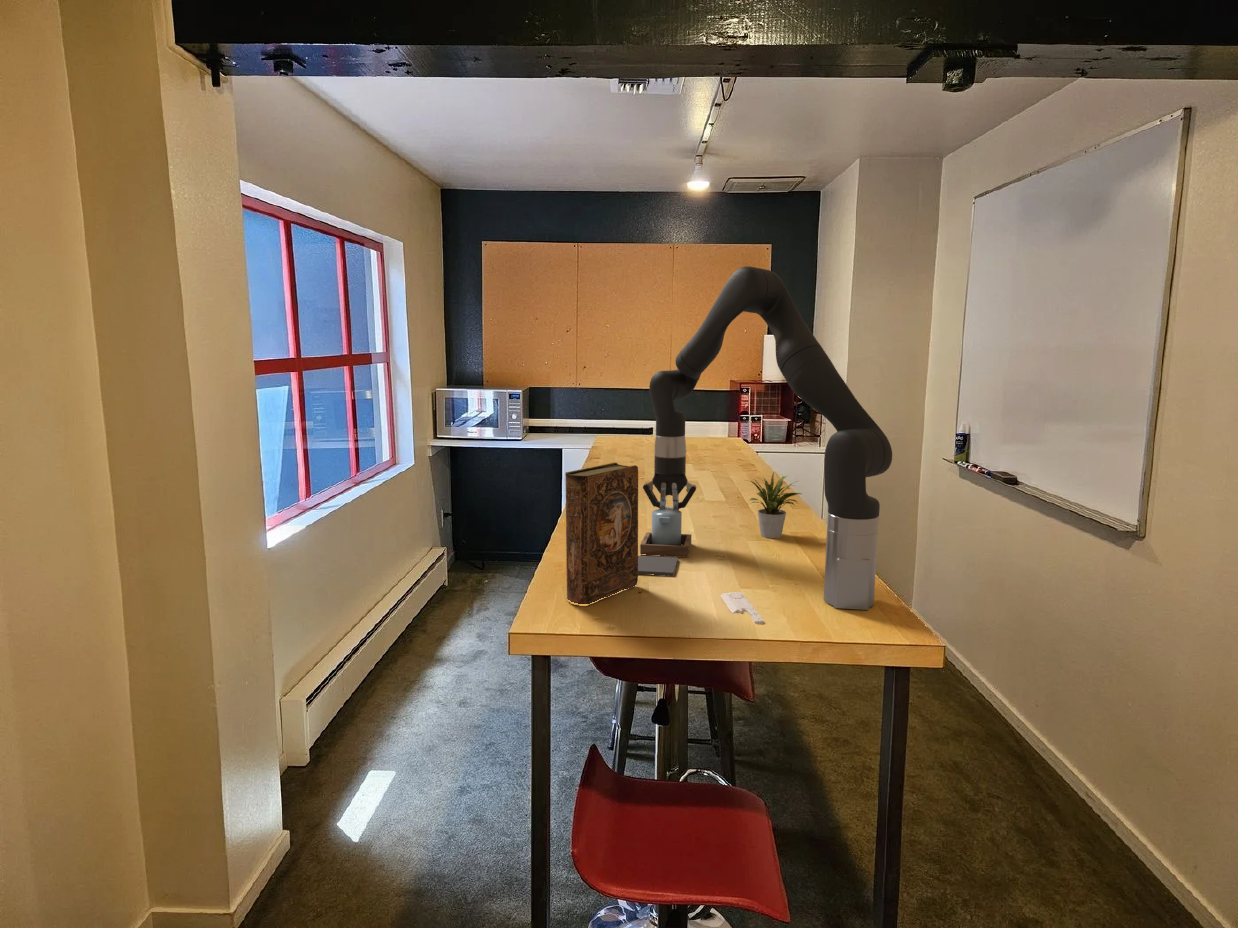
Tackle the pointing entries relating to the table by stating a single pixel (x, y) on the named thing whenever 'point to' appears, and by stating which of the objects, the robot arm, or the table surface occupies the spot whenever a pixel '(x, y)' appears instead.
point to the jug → (666, 526)
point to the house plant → (772, 508)
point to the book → (601, 531)
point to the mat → (657, 565)
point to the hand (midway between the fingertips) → (669, 523)
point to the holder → (666, 547)
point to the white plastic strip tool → (741, 605)
